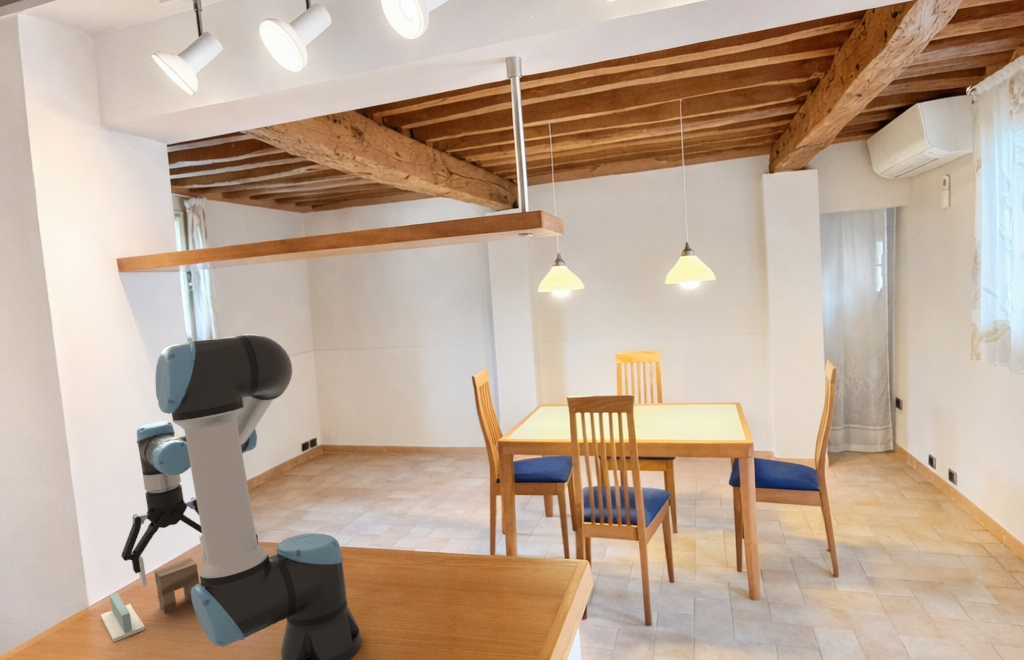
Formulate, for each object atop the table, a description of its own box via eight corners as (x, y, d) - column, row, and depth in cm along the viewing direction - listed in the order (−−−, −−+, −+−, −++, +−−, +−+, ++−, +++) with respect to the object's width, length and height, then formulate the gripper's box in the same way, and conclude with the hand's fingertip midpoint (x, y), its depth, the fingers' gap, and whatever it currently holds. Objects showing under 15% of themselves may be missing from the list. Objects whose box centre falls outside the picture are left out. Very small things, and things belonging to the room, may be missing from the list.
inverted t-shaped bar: (144, 629, 137) (141, 609, 137) (113, 642, 133) (110, 621, 133) (130, 606, 148) (127, 587, 148) (101, 617, 144) (97, 598, 144)
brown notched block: (201, 599, 149) (196, 563, 148) (165, 613, 144) (159, 576, 143) (195, 592, 153) (190, 557, 152) (159, 606, 147) (154, 570, 146)
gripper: (213, 469, 157) (224, 548, 159) (98, 500, 140) (112, 588, 142) (223, 475, 151) (234, 557, 153) (104, 508, 134) (118, 599, 137)
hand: (175, 572), depth 148 cm, fingers open, 13 cm apart
